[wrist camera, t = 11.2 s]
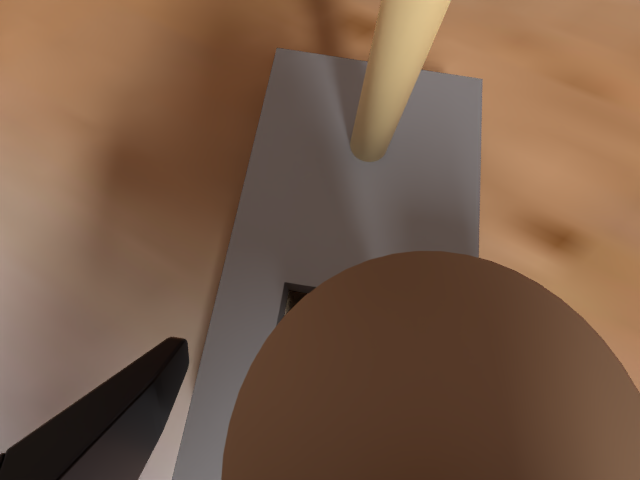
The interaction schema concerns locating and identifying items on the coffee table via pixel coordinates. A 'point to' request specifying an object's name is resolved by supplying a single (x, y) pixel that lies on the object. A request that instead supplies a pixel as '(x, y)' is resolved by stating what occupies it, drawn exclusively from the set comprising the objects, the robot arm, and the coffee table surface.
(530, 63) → the coffee table surface
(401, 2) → the pin board
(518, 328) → the tall pin
